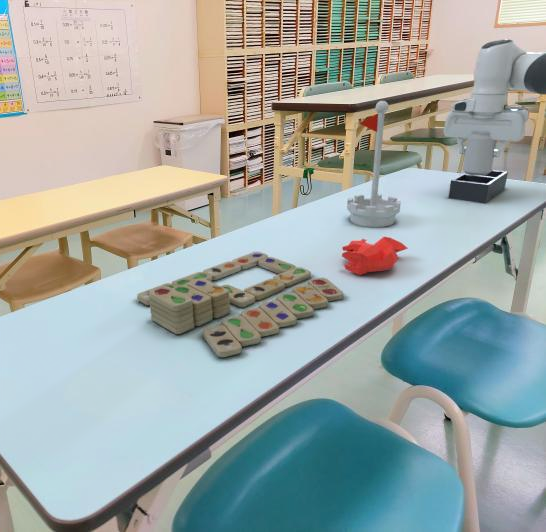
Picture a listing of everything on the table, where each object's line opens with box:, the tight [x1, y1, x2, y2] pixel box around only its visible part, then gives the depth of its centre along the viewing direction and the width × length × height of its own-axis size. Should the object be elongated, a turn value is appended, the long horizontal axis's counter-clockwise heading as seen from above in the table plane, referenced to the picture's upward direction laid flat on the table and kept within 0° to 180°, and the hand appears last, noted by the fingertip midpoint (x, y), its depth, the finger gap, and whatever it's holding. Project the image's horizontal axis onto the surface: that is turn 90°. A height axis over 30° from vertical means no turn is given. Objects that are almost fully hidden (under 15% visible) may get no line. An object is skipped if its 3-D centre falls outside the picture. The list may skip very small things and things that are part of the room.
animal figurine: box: [341, 236, 409, 276], centre depth 108 cm, size 12×15×5 cm
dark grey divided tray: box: [448, 169, 509, 204], centre depth 154 cm, size 10×19×5 cm, turn 138°
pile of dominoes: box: [136, 251, 344, 358], centre depth 95 cm, size 35×27×6 cm
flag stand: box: [346, 100, 402, 228], centre depth 130 cm, size 13×13×30 cm
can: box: [462, 132, 498, 176], centre depth 147 cm, size 8×8×12 cm
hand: (478, 155), depth 148 cm, fingers closed on can, 7 cm apart
